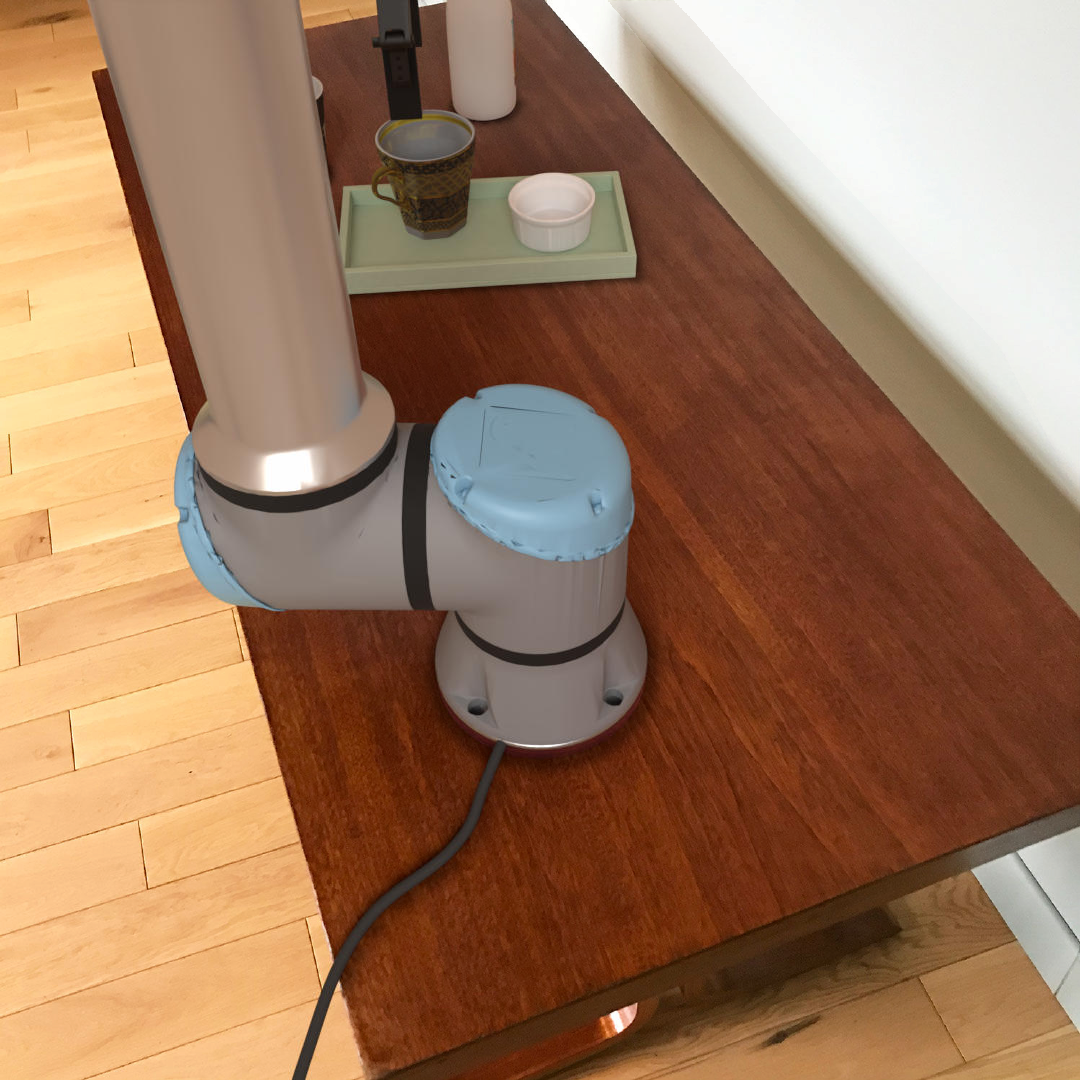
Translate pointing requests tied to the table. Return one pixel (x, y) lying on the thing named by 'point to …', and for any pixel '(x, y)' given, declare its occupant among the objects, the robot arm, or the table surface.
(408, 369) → the table surface
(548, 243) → the ramekin
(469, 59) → the milk bottle
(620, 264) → the tray
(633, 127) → the table surface
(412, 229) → the ceramic cup
